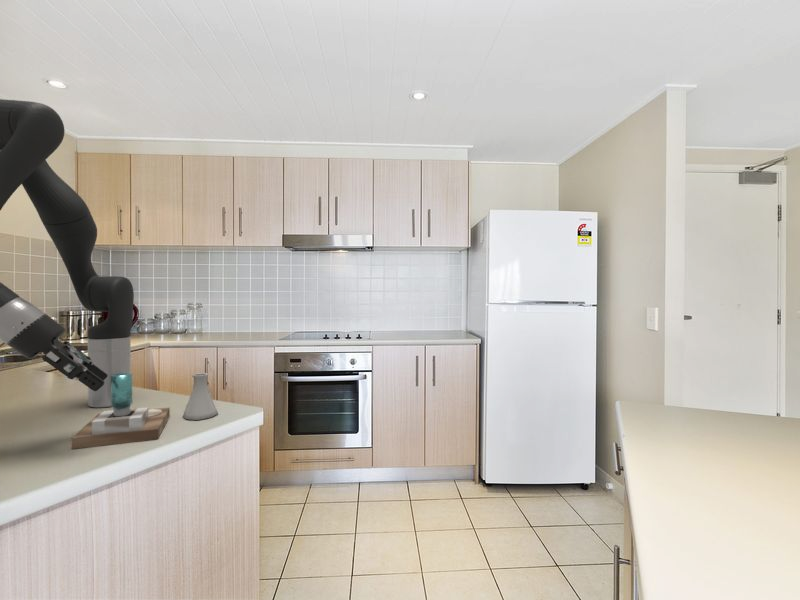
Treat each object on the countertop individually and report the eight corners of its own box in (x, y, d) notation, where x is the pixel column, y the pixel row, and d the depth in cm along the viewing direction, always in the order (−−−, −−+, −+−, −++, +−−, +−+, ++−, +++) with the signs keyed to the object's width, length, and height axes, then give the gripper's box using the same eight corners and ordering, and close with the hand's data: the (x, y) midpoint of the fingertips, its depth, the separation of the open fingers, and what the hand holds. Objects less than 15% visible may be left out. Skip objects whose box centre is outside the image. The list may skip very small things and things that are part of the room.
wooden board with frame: (98, 422, 93) (98, 402, 93) (169, 415, 99) (169, 396, 99) (71, 448, 78) (71, 424, 78) (158, 439, 83) (158, 416, 83)
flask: (224, 414, 100) (223, 372, 100) (198, 422, 94) (197, 378, 94) (202, 410, 103) (202, 370, 103) (176, 418, 97) (175, 375, 97)
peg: (113, 425, 85) (113, 373, 85) (134, 423, 87) (133, 372, 87) (108, 430, 82) (108, 376, 82) (130, 428, 83) (130, 375, 83)
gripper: (35, 314, 72) (117, 374, 78) (50, 311, 84) (120, 363, 90) (-6, 347, 69) (81, 406, 75) (15, 339, 81) (89, 391, 87)
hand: (102, 383), depth 83 cm, fingers open, 8 cm apart
